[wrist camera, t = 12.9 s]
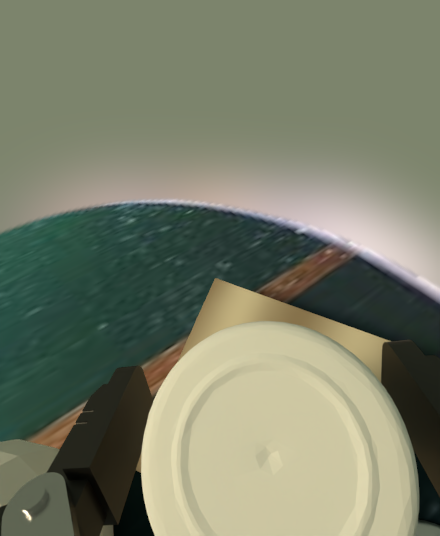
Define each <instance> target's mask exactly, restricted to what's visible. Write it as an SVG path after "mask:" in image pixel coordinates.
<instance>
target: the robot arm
mask: <svg viewBox="0 0 440 536" xmlns="http://www.w3.org/2000/svg"><path fill="white" fill-rule="evenodd" d="M381 384H382V385H383V386H384V387H385V389H386V390H387V392H388V393H389V395H390V396H391V398H392V400H393V402H394V403H395V405H396V407H397V409H398V411H399V413H400V415H401V417H402V419H403V422H404V424H405V426H406V429H407V432H408V435H409V437H410V440H411V444H412V447H413V450H414V452H415V453H416V455H417V457H418V459H419V461H420V462H421V464H422V466H423V468H424V470H425V471H426V473H427V475H428V477H429V479H430V481H431V482H432V484H433V486H434V488H435V490H436V491H437V493H438V495H439V497H440V358H438V357H437V356H435V355H428V356H425V355H424V354H423V352H422V351H421V350H420V349H419V348H418V347H417V345H416V344H415V343H414V342H413V341H412V340H401V341H391V342H384V343H383V345H382V367H381ZM152 404H153V399H152V396H151V393H150V390H149V387H148V384H147V381H146V378H145V375H144V372H143V369H142V368H141V366H131V367H121V368H117V369H116V370H115V372H114V374H113V376H112V378H111V379H110V381H109V383H108V384H104V385H102V386H101V387H100V388H99V389H98V390H97V391H96V392H95V393H94V394H93V395H92V396H91V397H90V399H89V400H88V402H87V404H86V405H85V407H84V409H83V413H81V414H80V416H79V417H78V419H77V421H76V425H74V426H73V428H72V429H71V431H70V433H69V435H68V436H67V438H66V440H65V442H64V443H63V445H62V447H61V448H60V450H59V452H58V454H57V455H56V457H55V459H54V460H53V462H52V464H51V466H50V467H49V469H48V471H47V472H46V473H45V474H42V475H39V476H37V477H35V478H33V479H32V480H30V481H29V482H27V483H26V484H25V485H24V486H22V487H21V488H20V489H19V490H18V491H17V492H16V494H15V495H14V496H13V497H12V499H11V500H10V501H9V503H8V504H7V505H4V506H1V507H0V536H100V533H101V530H102V527H103V526H104V525H118V524H119V521H120V518H121V515H122V511H123V508H124V505H125V502H126V499H127V496H128V493H129V489H130V486H131V483H132V480H133V477H134V474H135V471H136V467H137V464H138V461H139V458H140V455H141V452H142V444H143V437H144V432H145V428H146V424H147V419H148V415H149V412H150V409H151V407H152Z"/></svg>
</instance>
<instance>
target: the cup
mask: <svg viewBox="0 0 440 536" xmlns="http://www.w3.org/2000/svg"><path fill="white" fill-rule="evenodd" d="M59 450H60V449H57V448H53V447H49V446H45V445H40V444H36V443H32V442H28V441H23V440H19V439H16V440H10V441H4V442H0V507H1V506H4V505H7V504H8V503H9V501H10V500H11V499H12V497H13V496H14V495H15V494H16V492H17V491H18V490H19V489H20V488H21V487H22V486H24V485H25V484H26V483H27V482H29V481H30V480H32V479H33V478H35V477H37V476H39V475H42V474H45V473H46V472H47V471H48V469H49V467H50V466H51V464H52V462H53V460H54V459H55V457H56V455H57V454H58V452H59ZM100 536H114V534H113V525H104V526H103V527H102V530H101V533H100Z"/></svg>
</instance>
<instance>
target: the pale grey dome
mask: <svg viewBox="0 0 440 536" xmlns="http://www.w3.org/2000/svg"><path fill="white" fill-rule="evenodd" d="M415 536H440V525H437V524H435V523H432V522H428V521H425V520H419V519H418V526H417V530H416V535H415Z"/></svg>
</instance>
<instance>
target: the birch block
mask: <svg viewBox="0 0 440 536" xmlns="http://www.w3.org/2000/svg"><path fill="white" fill-rule="evenodd" d="M256 321H276V322H286V323H291V324H296V325H300V326H304V327H307V328H310V329H312V330H315V331H317V332H319V333H321V334H323V335H325V336H327V337H329V338H331V339H333V340H334V341H336V342H338V343H339V344H341V345H342V346H343V347H345V348H346V349H348V350H349V351H350V352H352V353H353V354H355V355H356V356H357V357H358V358H359V359H360V360H361V361H362V362H363V363H364V364H365V365H366V366H367V367H368V368H369V369H370V370H371V371H372V372H373V374H374V375H375V376H376V377H377V379H378V380H379V381H380V382H381V367H382V345H383V343H384V342H391V341H389V340H386V339H383V338H380V337H377V336H375V335H372V334H369V333H366V332H363V331H361V330H358V329H355V328H352V327H350V326H347V325H344V324H341V323H338V322H336V321H333V320H330V319H327V318H325V317H322V316H319V315H316V314H313V313H311V312H308V311H305V310H302V309H300V308H297V307H294V306H291V305H288V304H286V303H283V302H280V301H277V300H275V299H272V298H269V297H266V296H263V295H261V294H258V293H255V292H252V291H249V290H247V289H244V288H241V287H238V286H236V285H233V284H230V283H227V282H224V281H222V280H219V279H216V278H215V280H214V282H213V284H212V287H211V289H210V291H209V293H208V295H207V298H206V300H205V302H204V304H203V307H202V309H201V311H200V313H199V315H198V318H197V320H196V322H195V324H194V327H193V329H192V331H191V333H190V335H189V338H188V340H187V342H186V344H185V347H184V349H183V351H182V353H181V355H180V358H179V360H180V359H181V358H182V357H183V356H184V355H185V354H186V353H187V352H188V351H189V350H190V349H192V348H193V347H194V346H196V345H197V344H198V343H200V342H201V341H202V340H204V339H206V338H207V337H209V336H211V335H212V334H214V333H216V332H218V331H220V330H223V329H225V328H228V327H232V326H235V325H239V324H242V323H249V322H256ZM179 360H178V361H179ZM141 454H142V452H141ZM136 470H137V471H138V472H140V473H141V455H140V458H139V461H138V464H137V467H136Z"/></svg>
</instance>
